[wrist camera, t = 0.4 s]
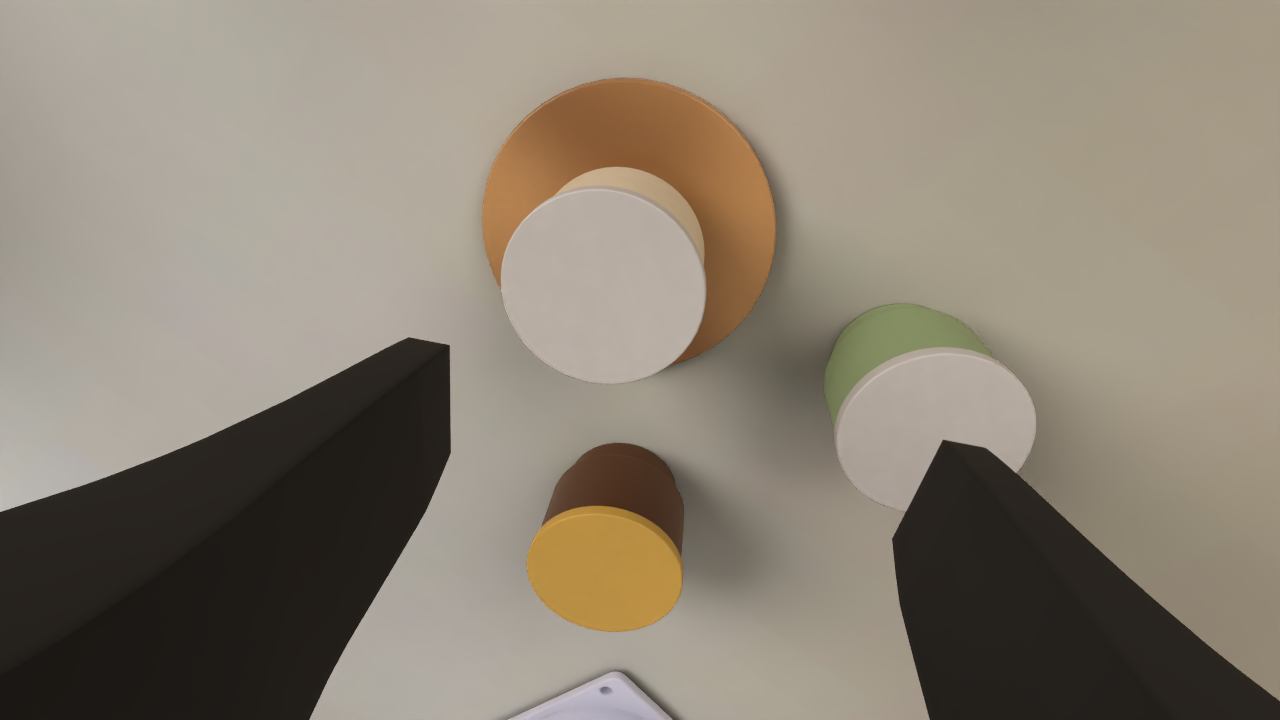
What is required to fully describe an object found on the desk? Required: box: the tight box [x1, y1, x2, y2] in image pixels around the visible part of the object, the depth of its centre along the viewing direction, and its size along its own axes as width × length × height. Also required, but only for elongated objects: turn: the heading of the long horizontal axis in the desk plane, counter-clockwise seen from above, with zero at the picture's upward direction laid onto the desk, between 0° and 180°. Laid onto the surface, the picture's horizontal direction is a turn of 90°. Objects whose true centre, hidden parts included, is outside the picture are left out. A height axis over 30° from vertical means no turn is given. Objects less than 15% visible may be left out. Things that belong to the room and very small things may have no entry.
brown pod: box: [527, 443, 684, 632], centre depth 21 cm, size 5×5×4 cm
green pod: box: [824, 304, 1036, 511], centre depth 18 cm, size 5×5×4 cm
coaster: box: [482, 78, 776, 365], centre depth 19 cm, size 8×8×1 cm
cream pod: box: [501, 167, 706, 384], centre depth 17 cm, size 5×5×4 cm
